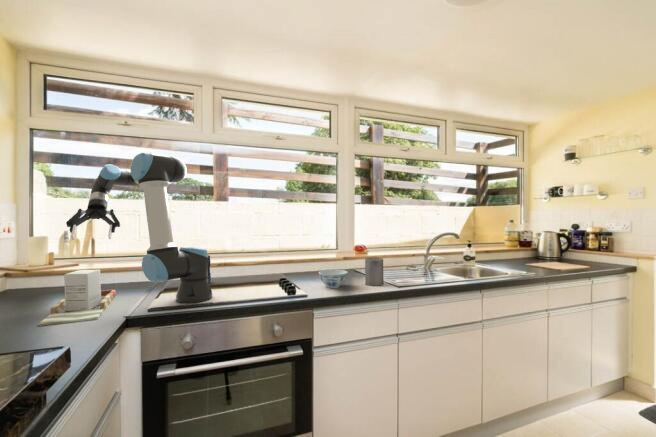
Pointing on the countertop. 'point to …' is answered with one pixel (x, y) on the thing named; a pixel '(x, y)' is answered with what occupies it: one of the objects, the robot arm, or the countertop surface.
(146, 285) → the countertop surface
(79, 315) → the track
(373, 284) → the pillar candle
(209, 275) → the storage jar
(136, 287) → the countertop surface
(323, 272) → the chinaware
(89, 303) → the supplement box
